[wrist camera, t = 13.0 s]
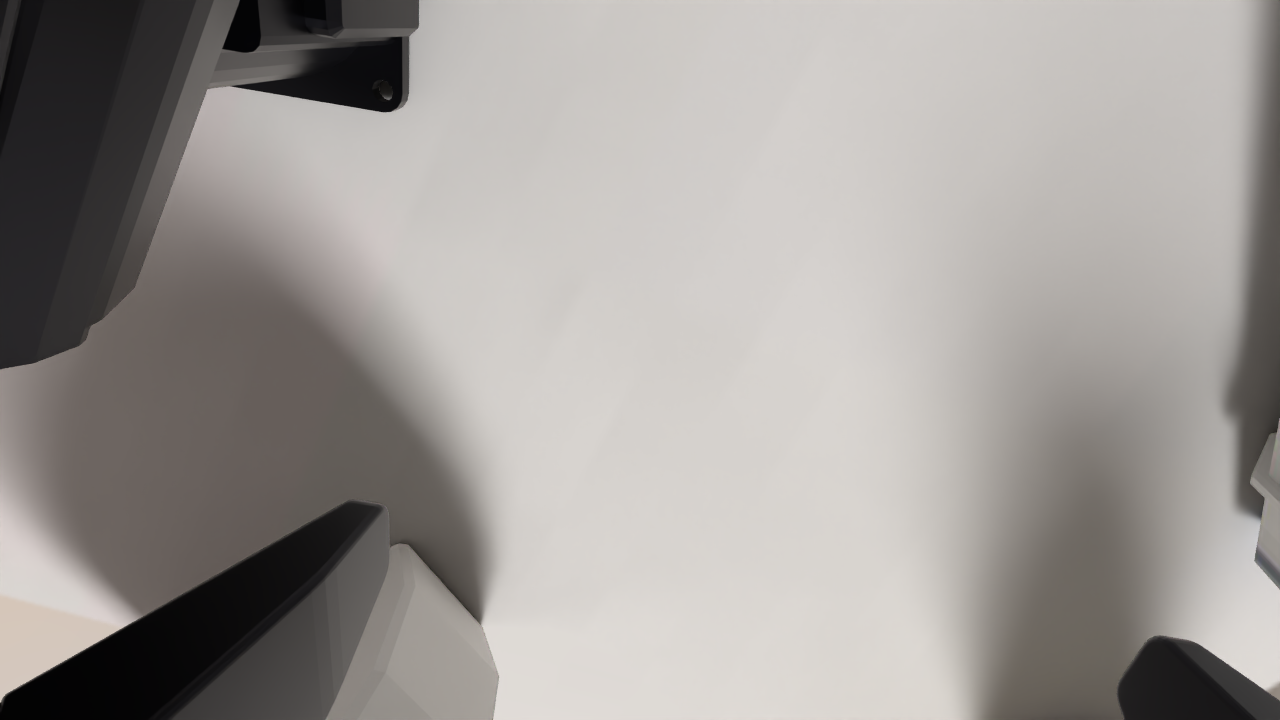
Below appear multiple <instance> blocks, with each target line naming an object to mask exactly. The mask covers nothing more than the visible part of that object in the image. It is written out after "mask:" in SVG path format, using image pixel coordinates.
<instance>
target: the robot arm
mask: <svg viewBox="0 0 1280 720" xmlns="http://www.w3.org/2000/svg"><path fill="white" fill-rule="evenodd" d="M418 26H419V0H0V369H4V368H9V367H15V366H20V365H26V364H32V363H35V362H38V361H41V360H43V359H46V358H48V357H51V356H54V355H56V354H59V353H61V352H64V351H67V350H69V349H72V348H75V347H77V346H79V345H80V344H82V343H83V342H84V341H85V340H86V338H87V335H88V332H89V329H90V326H91V325H93V324H95V323H96V322H98V321H100V320H102V319H103V318H104V317H105V316H106V315H107V314H108V313H109V312H110V311H111V310H112V309H113V308H114V307H115V306H116V305H117V304H118V303H119V302H120V301H121V300H122V299H123V298H124V297H125V296H126V295H127V294H128V293H129V292H130V291H131V290H132V289H133V288H134V287H135V285H136V282H137V279H138V276H139V274H140V271H141V268H142V266H143V263H144V260H145V257H146V255H147V252H148V249H149V247H150V244H151V241H152V238H153V236H154V233H155V230H156V227H157V225H158V222H159V219H160V217H161V214H162V211H163V208H164V206H165V203H166V200H167V198H168V195H169V192H170V189H171V187H172V184H173V181H174V178H175V176H176V173H177V170H178V168H179V165H180V162H181V159H182V157H183V154H184V151H185V148H186V146H187V143H188V140H189V138H190V135H191V132H192V129H193V127H194V124H195V121H196V119H197V116H198V113H199V110H200V108H201V105H202V102H203V99H204V97H205V94H206V91H207V89H210V88H218V87H226V86H232V87H238V88H244V89H249V90H255V91H261V92H267V93H273V94H279V95H285V96H291V97H297V98H302V99H308V100H314V101H320V102H326V103H332V104H338V105H344V106H350V107H356V108H361V109H367V110H373V111H379V112H392V111H395V110H398V109H400V108H402V107H403V106H404V105H405V103H406V102H407V100H408V94H409V36H410V35H411V34H412V33H413V32H414V31H415V30H416V29H417V28H418ZM383 80H384V81H386V82H388V83H389V84H390V86H391V87H392V91H393V95H392V98H391V99H390V100H387V99H385V98H384V97H383V96H382V95H381V94H380V90H379V86H380V82H381V81H383ZM389 562H390V533H389V512H388V509H387V507H386V506H385V505H383V504H381V503H376V502H370V501H364V500H358V499H352V500H349V501H347V502H345V503H343V504H341V505H339V506H337V507H336V508H334V509H332V510H330V511H329V512H327V513H325V514H323V515H322V516H320V517H318V518H316V519H314V520H313V521H311V522H309V523H307V524H306V525H304V526H302V527H300V528H299V529H297V530H295V531H293V532H291V533H290V534H288V535H286V536H284V537H283V538H281V539H279V540H277V541H276V542H274V543H272V544H270V545H269V546H267V547H265V548H263V549H261V550H260V551H258V552H256V553H254V554H253V555H251V556H249V557H247V558H246V559H244V560H242V561H240V562H238V563H237V564H235V565H233V566H231V567H230V568H228V569H226V570H224V571H223V572H221V573H219V574H217V575H216V576H214V577H212V578H210V579H208V580H207V581H205V582H203V583H201V584H200V585H198V586H196V587H194V588H193V589H191V590H189V591H187V592H185V593H184V594H182V595H180V596H178V597H177V598H175V599H173V600H171V601H170V602H168V603H166V604H164V605H162V606H161V607H159V608H157V609H155V610H154V611H152V612H150V613H148V614H147V615H145V616H143V617H141V618H140V619H138V620H136V621H134V622H132V623H131V624H129V625H127V626H125V627H124V628H122V629H120V630H118V631H117V632H115V633H113V634H111V635H109V636H108V637H106V638H104V639H103V640H101V641H99V642H97V643H95V644H94V645H92V646H90V647H88V648H86V649H85V650H83V651H81V652H80V653H78V654H76V655H74V656H72V657H71V658H69V659H67V660H65V661H64V662H62V663H60V664H58V665H56V666H55V667H53V668H51V669H50V670H48V671H46V672H44V673H42V674H41V675H39V676H37V677H35V678H34V679H32V680H30V681H29V682H26V683H25V684H23V685H21V686H19V687H18V688H16V689H14V690H13V691H10V692H9V693H7V694H6V695H5V696H4V697H3V699H2V701H1V703H0V720H326V718H327V716H328V714H329V712H330V710H331V708H332V706H333V704H334V702H335V700H336V698H337V695H338V693H339V691H340V688H341V686H342V684H343V681H344V679H345V677H346V674H347V672H348V669H349V667H350V664H351V662H352V659H353V657H354V654H355V652H356V650H357V647H358V645H359V642H360V640H361V637H362V635H363V632H364V630H365V627H366V625H367V622H368V620H369V618H370V615H371V613H372V610H373V608H374V605H375V603H376V600H377V598H378V595H379V593H380V590H381V588H382V586H383V583H384V581H385V578H386V575H387V572H388V567H389ZM1117 698H1118V703H1119V707H1120V709H1121V712H1122V715H1123V718H1124V720H1280V701H1279V700H1278V699H1277V698H1275V697H1274V696H1272V695H1271V694H1269V693H1268V692H1267V691H1265V690H1264V689H1262V688H1261V687H1259V686H1258V685H1257V684H1255V683H1254V682H1252V681H1251V680H1249V679H1248V678H1247V677H1245V676H1244V675H1242V674H1241V673H1239V672H1238V671H1236V670H1235V669H1234V668H1232V667H1231V666H1229V665H1228V664H1226V663H1225V662H1224V661H1222V660H1221V659H1219V658H1218V657H1216V656H1215V655H1214V654H1212V653H1211V652H1209V651H1208V650H1206V649H1205V648H1204V647H1202V646H1200V645H1199V644H1197V643H1195V642H1192V641H1189V640H1185V639H1179V638H1173V637H1167V636H1154V637H1152V638H1150V639H1148V640H1147V641H1146V642H1145V643H1144V645H1143V646H1142V648H1141V649H1140V651H1139V652H1138V654H1137V655H1136V656H1135V658H1134V659H1133V661H1132V662H1131V664H1130V665H1129V667H1128V668H1127V669H1126V671H1125V672H1124V674H1123V675H1122V677H1121V678H1120V680H1119V683H1118V686H1117Z"/></svg>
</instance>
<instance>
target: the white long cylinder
mask: <svg viewBox="0 0 1280 720" xmlns="http://www.w3.org/2000/svg"><path fill="white" fill-rule="evenodd" d="M1250 484H1251V485H1252V486H1253V487H1254V488H1255V489H1256V490H1257V491H1258V492H1259V493H1260V494H1261V495H1262V496H1263V497H1264V498H1265V501H1264V507H1263V513H1262V519H1261V525H1260V531H1259V536H1258V542H1257V548H1256V554H1255V560H1254V561H1255V562H1256V564H1257V565H1258V566H1259V567H1260V568H1261V569H1262V570H1263V571H1264V572H1265V574H1266V575H1267V576H1268V577H1269V578H1270V579H1271V580H1272V581H1273V582H1274V583H1275V585H1276V586H1277V587H1278V588H1279V589H1280V420H1279V425H1278V430H1277V432H1276V433H1272V434H1270V435H1269V437H1268V439H1267V441H1266V444H1265V446H1264V448H1263V450H1262V452H1261V455H1260V457H1259V459H1258V461H1257V464H1256V466H1255V468H1254V470H1253V472H1252V475H1251V480H1250Z"/></svg>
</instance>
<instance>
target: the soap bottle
mask: <svg viewBox="0 0 1280 720" xmlns="http://www.w3.org/2000/svg"><path fill="white" fill-rule="evenodd" d="M498 681H499V675H498V672H497V669H496V666H495V663H494V660H493V657H492V654H491V651H490V648H489V645H488V642H487V639H486V636H485V633H484V630H483V627H482V626H481V625H480V624H479V623H478V622H477V621H476V620H475V619H474V617H473V616H472V615H471V614H470V613H469V612H468V611H467V610H466V608H465V607H464V606H463V605H462V604H461V603H460V602H459V601H458V600H457V598H456V597H455V596H454V595H453V594H452V593H451V592H450V591H449V590H448V588H447V587H446V586H445V585H444V584H443V583H442V582H441V581H440V579H439V578H438V577H437V576H436V575H435V574H434V573H433V572H432V571H431V569H430V568H429V567H428V566H427V565H426V564H425V563H424V562H423V561H422V559H421V558H420V557H419V556H418V555H417V554H416V553H415V552H414V550H413V549H412V548H411V547H410V546H409V545H407V544H400V543H398V544H396V545H394V546H392V547H390V562H389V567H388V572H387V575H386V578H385V581H384V583H383V586H382V588H381V590H380V593H379V595H378V598H377V600H376V603H375V605H374V608H373V610H372V613H371V615H370V618H369V620H368V622H367V625H366V627H365V630H364V632H363V635H362V637H361V640H360V642H359V645H358V647H357V650H356V652H355V654H354V657H353V659H352V662H351V664H350V667H349V669H348V672H347V674H346V677H345V679H344V681H343V684H342V686H341V688H340V691H339V693H338V695H337V698H336V700H335V702H334V704H333V706H332V708H331V710H330V712H329V714H328V716H327V718H326V720H493V716H494V709H495V702H496V695H497V688H498Z"/></svg>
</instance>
